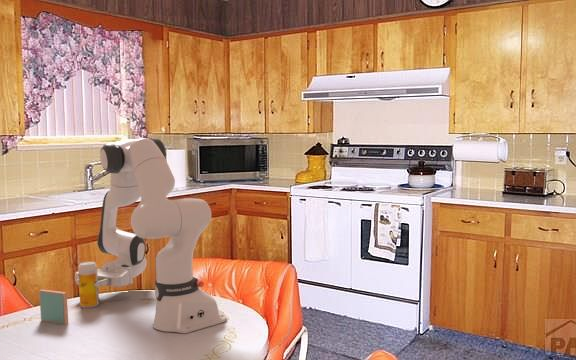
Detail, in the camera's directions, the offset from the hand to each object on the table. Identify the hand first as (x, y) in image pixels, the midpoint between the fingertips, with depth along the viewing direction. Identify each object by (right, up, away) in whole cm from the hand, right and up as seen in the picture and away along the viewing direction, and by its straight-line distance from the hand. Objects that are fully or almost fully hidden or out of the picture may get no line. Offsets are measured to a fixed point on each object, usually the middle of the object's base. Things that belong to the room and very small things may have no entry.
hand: (86, 283), depth 186 cm
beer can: (0, -8, +2) cm, 8 cm away
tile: (-5, -10, -13) cm, 17 cm away
